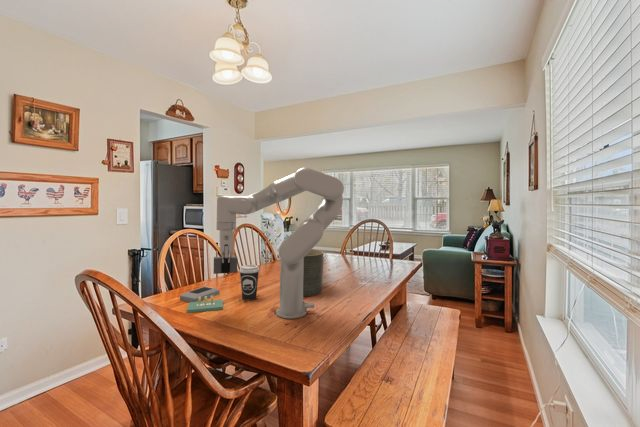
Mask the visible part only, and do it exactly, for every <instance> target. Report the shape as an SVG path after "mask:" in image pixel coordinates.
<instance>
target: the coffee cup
mask: <svg viewBox="0 0 640 427" xmlns="http://www.w3.org/2000/svg"><path fill="white" fill-rule="evenodd" d="M260 271H261V270H260V268H259V266H258V265H256V264H245V265H242V266H240V268H239V271H238V272H239V273H240V274H239V276H240V285H241V286H240V288H241V299H242V300H244V301H252V300H255V299H257V295H258V281H259V273H260Z"/></svg>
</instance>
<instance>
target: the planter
mask: <svg viewBox="0 0 640 427" xmlns="http://www.w3.org/2000/svg"><path fill="white" fill-rule="evenodd" d="M324 256H325V255H324V251H323V250H321V249H315V248H312V249H311V250H310V251H309V252H308V253H307V255H306V256H305V257H304V275H303V298H304V297H313V296H316V295H320V294H321V293H322V292H323V282H324V281H323V279H324V278H323V277H324Z"/></svg>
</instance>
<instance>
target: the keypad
mask: <svg viewBox="0 0 640 427" xmlns="http://www.w3.org/2000/svg"><path fill="white" fill-rule="evenodd" d="M219 295H220V290H219V289H218V288H215V287H209V286H204V285H203V286H202V287H201V286H200V287H198V288H196V289H195V288H194V289H192V290H188V291H186V292H184V293H182V294H180V295H179V301H182V302H186V303H189V302H198V297H201V301H205V296H207V300H208V299H211V296H213V298H214V297H217V296H219Z"/></svg>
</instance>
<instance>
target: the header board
mask: <svg viewBox="0 0 640 427" xmlns="http://www.w3.org/2000/svg"><path fill="white" fill-rule="evenodd" d="M223 302H224V300H223V299H214V297H213V296H211V298H210V300H208V299H207V296H205V300H203V301H201V297H198V302H188V306H187V308H186V314H190V313H199V312H200V313H202V312H212V311H213V312H214V311H223V310H224V303H223Z"/></svg>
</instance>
